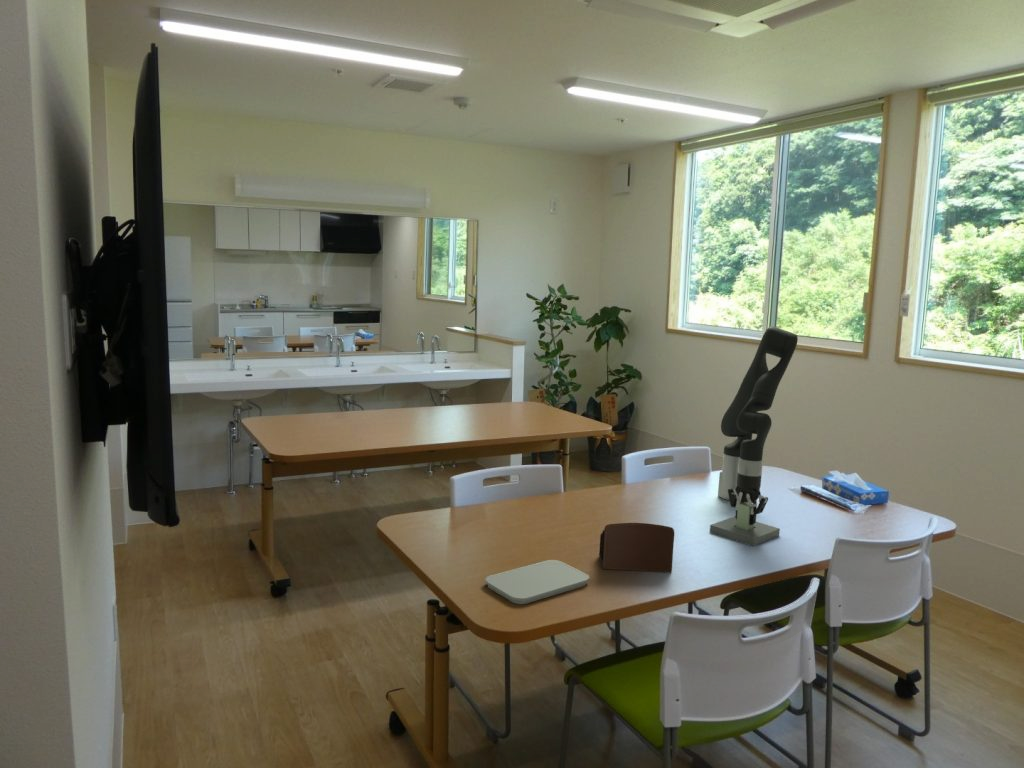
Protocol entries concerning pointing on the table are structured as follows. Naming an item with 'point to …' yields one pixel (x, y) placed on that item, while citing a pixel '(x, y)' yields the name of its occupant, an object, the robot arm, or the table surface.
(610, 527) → the letter holder
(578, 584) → the tablet
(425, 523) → the table surface
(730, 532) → the pocket holder
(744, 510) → the sage block
